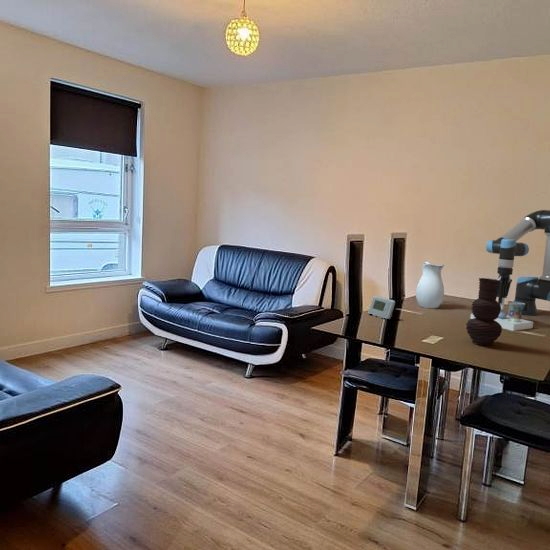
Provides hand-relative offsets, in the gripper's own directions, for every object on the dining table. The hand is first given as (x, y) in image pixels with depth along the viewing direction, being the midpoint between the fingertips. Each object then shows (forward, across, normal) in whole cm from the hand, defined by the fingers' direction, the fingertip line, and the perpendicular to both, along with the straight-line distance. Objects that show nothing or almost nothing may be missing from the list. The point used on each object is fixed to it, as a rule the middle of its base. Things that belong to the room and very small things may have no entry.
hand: (500, 309), depth 273 cm
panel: (+8, 0, +2) cm, 8 cm away
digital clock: (+8, +56, -36) cm, 67 cm away
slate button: (+6, 0, +2) cm, 6 cm away
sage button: (+8, +1, +10) cm, 12 cm away
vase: (+8, +51, +23) cm, 57 cm away
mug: (+8, -18, -1) cm, 20 cm away
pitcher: (+8, 0, -50) cm, 50 cm away
